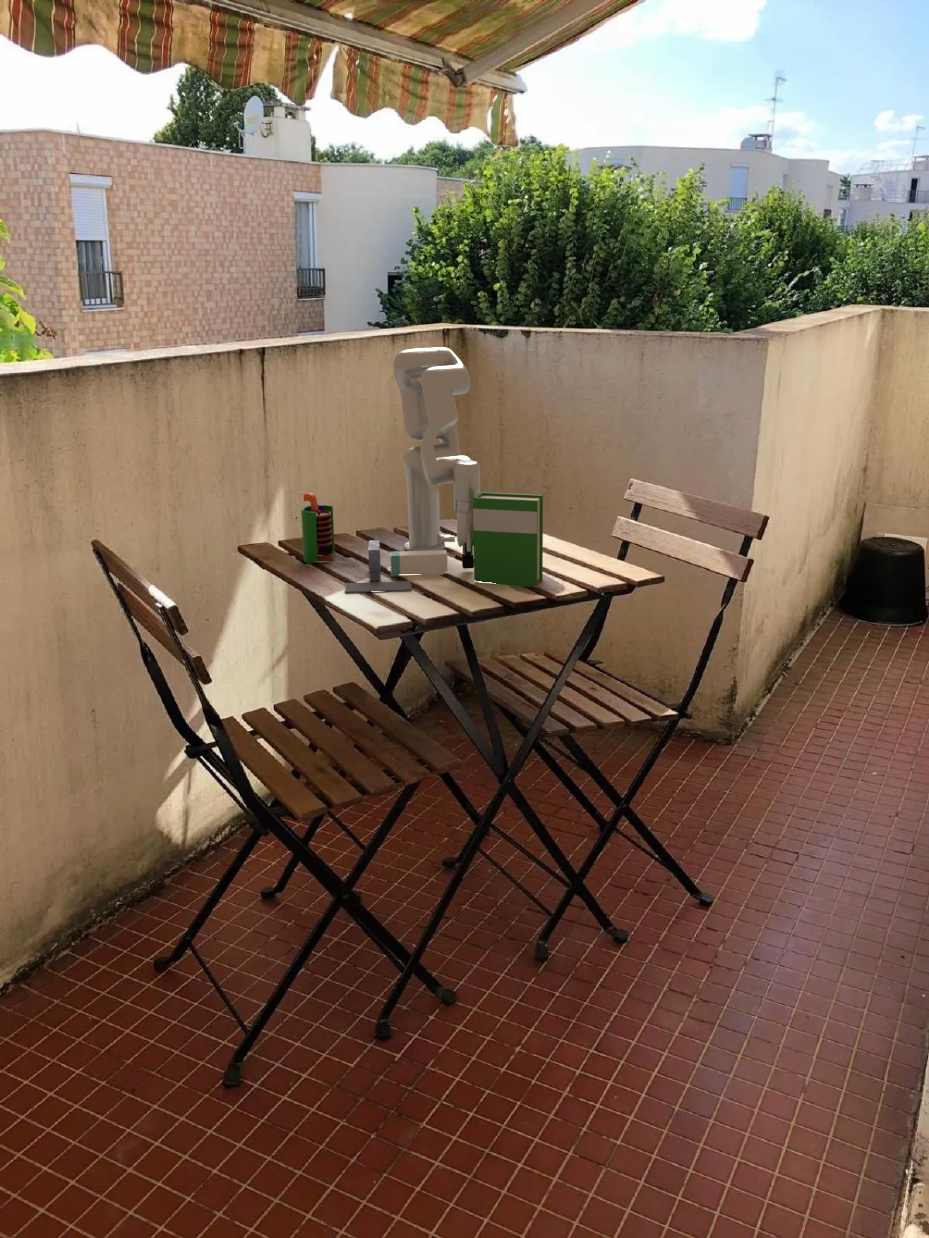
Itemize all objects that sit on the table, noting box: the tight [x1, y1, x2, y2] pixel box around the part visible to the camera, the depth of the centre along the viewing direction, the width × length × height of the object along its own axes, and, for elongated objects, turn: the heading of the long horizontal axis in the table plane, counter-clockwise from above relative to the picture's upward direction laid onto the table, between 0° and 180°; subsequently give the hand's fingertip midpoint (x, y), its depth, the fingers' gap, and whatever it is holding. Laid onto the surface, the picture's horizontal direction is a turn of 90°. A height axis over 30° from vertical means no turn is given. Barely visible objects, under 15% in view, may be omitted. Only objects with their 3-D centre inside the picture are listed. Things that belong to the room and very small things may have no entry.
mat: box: [344, 580, 413, 594], centre depth 301 cm, size 18×8×1 cm, turn 94°
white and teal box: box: [389, 549, 448, 577], centre depth 313 cm, size 16×4×6 cm, turn 94°
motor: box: [300, 492, 336, 565], centre depth 326 cm, size 10×9×20 cm
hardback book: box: [473, 491, 544, 588], centre depth 301 cm, size 18×7×24 cm, turn 74°
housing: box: [367, 539, 382, 582], centre depth 312 cm, size 3×16×9 cm, turn 4°
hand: (468, 567), depth 315 cm, fingers closed
